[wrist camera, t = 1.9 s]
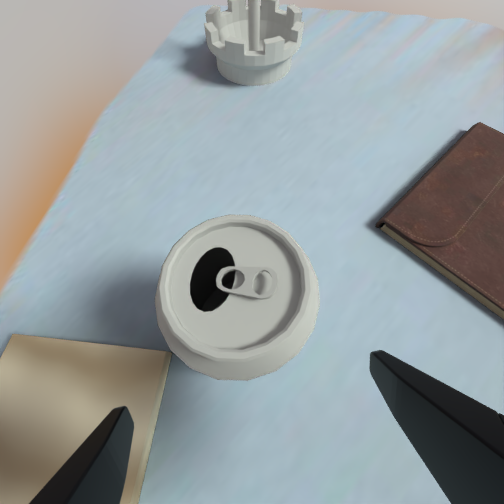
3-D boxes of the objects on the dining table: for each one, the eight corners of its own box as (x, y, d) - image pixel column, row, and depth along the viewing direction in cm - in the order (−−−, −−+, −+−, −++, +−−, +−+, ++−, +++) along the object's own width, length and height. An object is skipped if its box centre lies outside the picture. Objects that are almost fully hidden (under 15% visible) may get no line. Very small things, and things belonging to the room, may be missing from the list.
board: (28, 336, 20) (12, 333, 19) (172, 352, 20) (166, 351, 18) (-90, 589, 14) (-126, 611, 13) (110, 623, 14) (95, 651, 12)
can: (212, 276, 23) (174, 189, 12) (294, 290, 22) (334, 212, 11) (188, 365, 19) (105, 358, 9) (283, 385, 19) (325, 405, 8)
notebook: (601, 206, 26) (626, 193, 24) (525, 342, 20) (552, 339, 19) (464, 134, 31) (477, 119, 29) (372, 228, 25) (381, 217, 23)
